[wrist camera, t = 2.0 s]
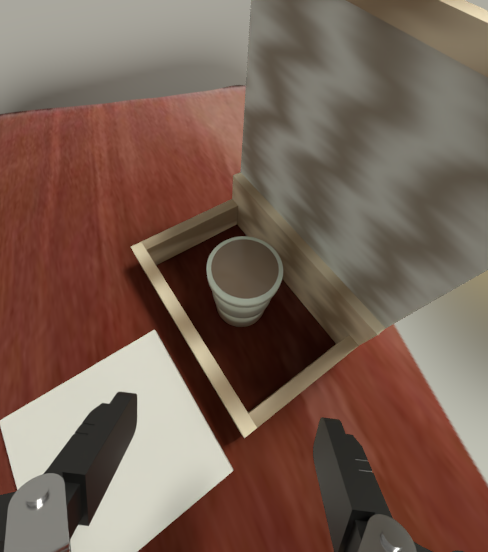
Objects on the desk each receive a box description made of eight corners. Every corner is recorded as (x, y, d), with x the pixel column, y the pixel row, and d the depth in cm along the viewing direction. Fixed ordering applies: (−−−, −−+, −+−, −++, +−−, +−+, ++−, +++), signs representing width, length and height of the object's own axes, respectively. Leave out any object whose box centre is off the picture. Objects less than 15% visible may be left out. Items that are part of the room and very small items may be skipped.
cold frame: (139, 263, 32) (-40, -63, 10) (242, 212, 36) (266, -89, 15) (242, 435, 24) (369, 557, 3) (355, 344, 29) (738, 122, 7)
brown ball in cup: (199, 295, 30) (191, 257, 23) (247, 268, 32) (253, 224, 25) (232, 344, 28) (234, 318, 21) (281, 311, 30) (299, 277, 23)
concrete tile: (9, 420, 24) (-1, 420, 23) (157, 332, 28) (154, 329, 27) (62, 611, 19) (53, 622, 18) (232, 468, 23) (233, 470, 22)
